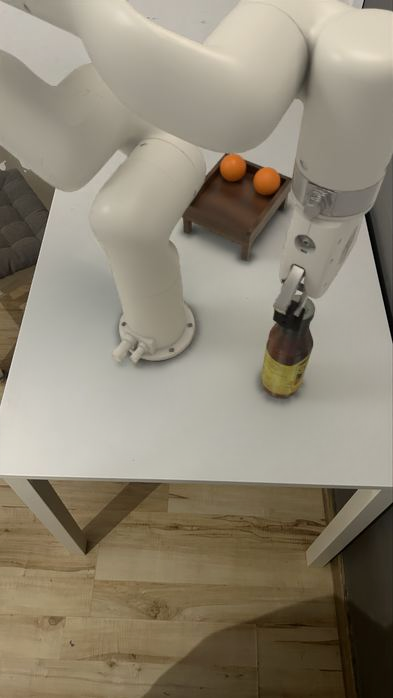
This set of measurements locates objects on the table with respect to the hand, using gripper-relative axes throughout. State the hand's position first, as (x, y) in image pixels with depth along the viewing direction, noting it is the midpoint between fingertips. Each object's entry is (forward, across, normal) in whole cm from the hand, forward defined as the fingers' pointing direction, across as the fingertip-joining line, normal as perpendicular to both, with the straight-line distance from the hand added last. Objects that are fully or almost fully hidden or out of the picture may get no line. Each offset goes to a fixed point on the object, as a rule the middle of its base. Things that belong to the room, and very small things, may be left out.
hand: (305, 294), depth 58 cm
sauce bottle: (+24, 0, 0) cm, 24 cm away
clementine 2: (+18, +30, +20) cm, 41 cm away
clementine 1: (+18, +30, +27) cm, 45 cm away
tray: (+23, +26, +23) cm, 42 cm away
